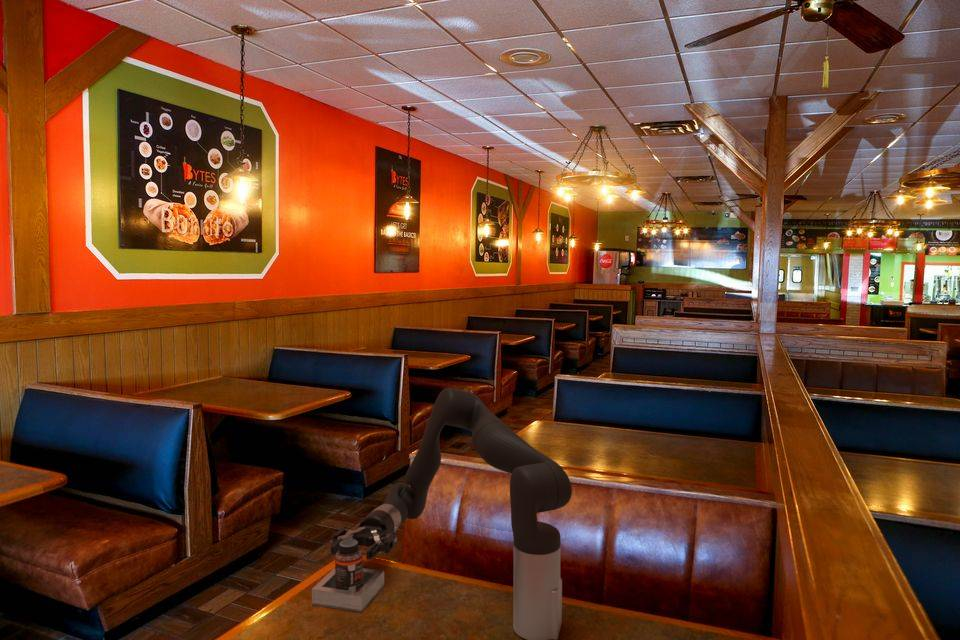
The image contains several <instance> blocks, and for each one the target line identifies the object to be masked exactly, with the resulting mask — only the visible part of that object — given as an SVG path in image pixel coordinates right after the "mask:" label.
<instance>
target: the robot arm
mask: <svg viewBox="0 0 960 640" xmlns="http://www.w3.org/2000/svg"><path fill="white" fill-rule="evenodd" d="M445 425H446V426H451V427H454V428H461V429H463V430H464V429H465V430H466V431H467V430H468V431H469V432H471V444H472V446H473V449H474V451H475V452H476V453H477V454H478V455H479V456H480V458H481V459H482V460H483V461H484V462H485V463H487V464H488V465H489V466H490V467H492V468H494V469H496V470H499V471H502V472H504V473H507V474H510V479H509V501H510V503H509V504H510V521H511V531H512V536H513V569H512V570H513V571H512V572H513V577H512V578H513V585H512V586H513V589H512V590H513V592H512V593H513V595H512V596H513V600H512V601H513V602H512V603H513V604H512V606H513V608H512V609H513V610H512V611H513V614H512V618H513V619H512V624H513V625H512V626H513V631H514V633H515V634H517V636H519V637H520V638H523V639H525V640H558V639H559V634H560V631H561V627H562V623H563V621H562V618H563V617H562V615H563V613H562V611H563V609H562V608H563V607H562V606H563V604H562V602H563V579H562V578H561V540H562V539H561V538H562V537H561V533H560V531H559V529H558V528H556V527H555V526H554V525H551V524H549V523H547V522H543V521H538V514H539V513H545V512H549V511H556V510H558V509H561V508H563V507H565V506H566V505H567V504H568V503H569V502H570V500H571V499H572V498H571V497H572V496H573V488H572V482H571V480H570V477H569V475H568V474H567V472H566V470H565V469H564V468H563V467H562V466H561V464H559V463H558V462H557V461H555V460H554V459H552V458H550V457H549V456H547V455H545V454H543V453H542V452H541V451H539V450H537V449H536V448H534V447H533V446H532V445H531V444H529V443H528V442H527V441H525V440H524V439H523V438H522V437H521V436H519V435H518V434H517V433H516V432H515V431H514V430H513V429H512V428H511V427H509V425H507V423H505V422H504V421H502V420H501V419H500V418H499V417H497V416H496V415H495V414H494V413H493V412H491V411H490V409H489V408H488V407H487V405H486V404H485V403H484V401H483V400H482V399H481V398H480V397H479V396H477V395H476V394H474V393H472V392H470V391H464V390H461V389H457V388H452V387H446V388H445V387H444V389H442V390H441V392H439V394H438V396H437V397H436V400H435V402H434V405H433V407H432V410H431V412H430V416H429V419H428V421H427V424H426V426H425V430H424V433H423V436H422V439H421V442H420V445H419V446H418V449H417V452H416V454H415V456H414V458H413V460H412V462H411V464H410V465H409V466H408V469H407V471H406V473H405V475H404V476H405V479H404V480H405V481H406V483H405V482H397V483H394V484H393V485H392V486H391V487H390V489H389V490H388V493H387V496H386V499H385V501H384V502H382V504H381V505H380V506H377V507H376V508H374V509H373V510H372V511H371V512H369V514H368V515H367V516H366V517H364V518H363V519H362V520H361V521H360V523H359V525H358V527H356V528H354V529H352V530H351V529H349V526H348V525H347V526H346V525H345V526H342V528H340V529H339V530H337V531H336V532H335V533H333V534H331V544H330V553H331V555H332V556H335V555H336V553H337V552H338V551H340V550H339V544H340V542H341V541H343V540H347V539H353V540H356V541H357V542H358V547H359V546H360V547H362V546H363V547H368V549H367V550H366V560H368V561H370V560H372V559H373V558H376V556H377V555H378V554H382V552H384V553H385V554H389V553H391V551H392V550H393V549H394V548H395V546H396V545H397V543H398V532H396V531H397V530H398V529H399V527H400V526H401V525H402V524H403V523H404V522H405V521H406V520H407V519H408V520H415V519H417V518H419V517H420V516H422V514H423V512H424V510H425V508H426V503H427V498H428V493H429V489H430V486H431V484H432V482H433V480H434V478H435V477H436V474H437V473H438V471H439V469H440V465H441V463H442V451H441V443H440V436H441V435H440V434H441V432H442V430H443V428H444V427H445Z"/></svg>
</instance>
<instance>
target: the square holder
mask: <svg viewBox="0 0 960 640" xmlns="http://www.w3.org/2000/svg"><path fill="white" fill-rule="evenodd" d="M384 587H385V571H384V570H380V569H379V570H378V569H373V568H365V567H363V587H362V588H361V589H360V590H359V591H358V592H355V591H348V590H342V589H336V577H335V567H334V568H332V570H330V571H329V572H328V573H327V574H326V575H325V576H324V577H323V578H322V579H321V580H319V582H318V583H316V585H314V586H313V587H312V588H311V604H312V606H317V607H324V608H330V609H335V610H337V609H338V610H344V611H349V612H356V613H363V611H364V610H365V609H366V608H367V606H368V605H370V603H371V602H372V601H373V600H374V599H375V597H376V596H377V595H378V594H379V593H380V592H381V591H382V589H383V588H384Z"/></svg>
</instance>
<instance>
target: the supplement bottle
mask: <svg viewBox="0 0 960 640" xmlns="http://www.w3.org/2000/svg"><path fill="white" fill-rule="evenodd" d="M339 550H340V551H338V552H337V553H336V555H334V568H335V577H336V589H342V590H348V591H355V592H358V591H359V590H360V589H361V588H362V587H363V568H364V561H363V557H364V556H363V551H362V550H360V548H359V546H358V542H357V541H356V540H353V538H352V539H347V540H346V539H345V540H343V541H341V542H340V544H339Z"/></svg>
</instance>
